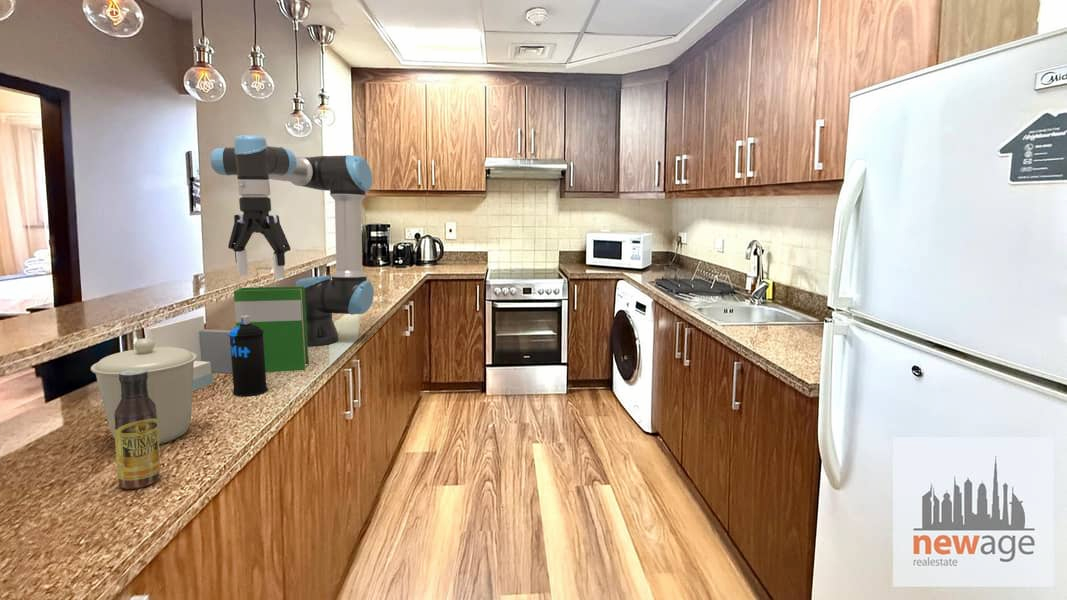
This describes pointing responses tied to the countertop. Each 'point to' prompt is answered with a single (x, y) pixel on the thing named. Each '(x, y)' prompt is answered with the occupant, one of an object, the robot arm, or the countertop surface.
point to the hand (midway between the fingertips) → (261, 276)
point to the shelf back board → (179, 335)
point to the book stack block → (201, 374)
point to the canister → (152, 384)
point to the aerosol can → (248, 359)
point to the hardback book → (277, 324)
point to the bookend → (216, 350)
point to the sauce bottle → (136, 432)
